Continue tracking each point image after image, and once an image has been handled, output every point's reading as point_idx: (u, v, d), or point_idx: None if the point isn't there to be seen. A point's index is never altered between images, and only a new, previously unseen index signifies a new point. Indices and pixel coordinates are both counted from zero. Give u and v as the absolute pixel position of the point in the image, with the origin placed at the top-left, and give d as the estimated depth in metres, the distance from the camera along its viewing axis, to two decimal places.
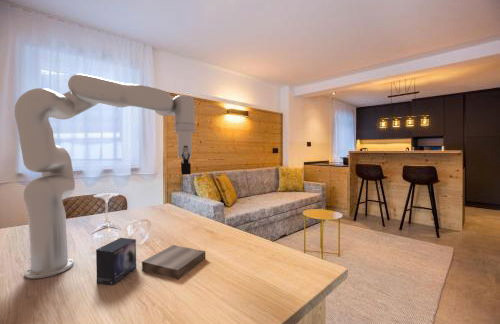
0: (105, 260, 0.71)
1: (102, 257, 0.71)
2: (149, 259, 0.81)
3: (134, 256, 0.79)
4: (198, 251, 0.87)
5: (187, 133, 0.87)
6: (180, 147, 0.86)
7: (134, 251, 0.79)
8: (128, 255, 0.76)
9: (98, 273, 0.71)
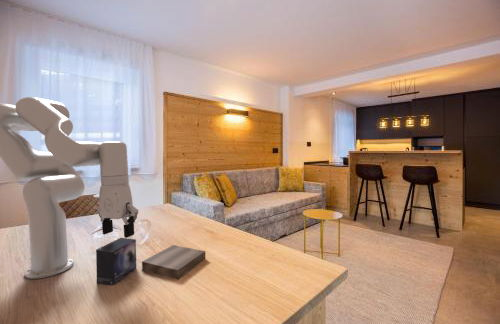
0: (105, 260, 0.71)
1: (102, 257, 0.71)
2: (149, 259, 0.81)
3: (134, 256, 0.79)
4: (198, 251, 0.87)
5: (127, 187, 0.74)
6: (122, 205, 0.71)
7: (134, 251, 0.79)
8: (128, 255, 0.76)
9: (98, 273, 0.71)
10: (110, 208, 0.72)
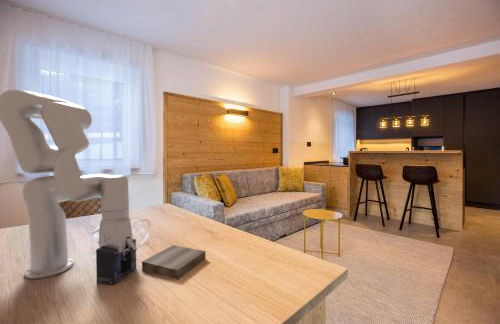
0: (104, 260, 0.71)
1: (102, 257, 0.71)
2: (149, 259, 0.81)
3: (134, 256, 0.79)
4: (198, 251, 0.87)
5: (127, 221, 0.74)
6: (122, 240, 0.72)
7: None
8: None
9: (98, 273, 0.71)
10: (110, 242, 0.73)
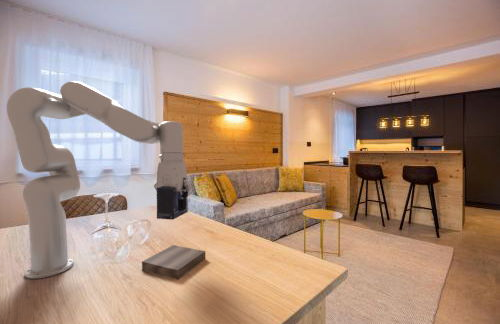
0: (165, 197, 0.77)
1: (163, 194, 0.77)
2: (149, 259, 0.81)
3: (186, 199, 0.85)
4: (198, 251, 0.87)
5: (183, 163, 0.80)
6: (180, 180, 0.78)
7: None
8: None
9: (158, 209, 0.78)
10: (168, 182, 0.79)
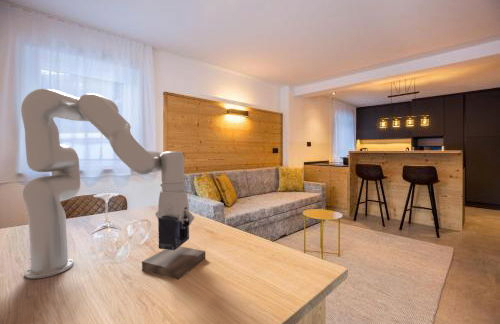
0: (167, 227, 0.78)
1: (164, 224, 0.78)
2: (149, 259, 0.81)
3: (188, 227, 0.86)
4: (198, 251, 0.87)
5: (185, 193, 0.81)
6: (182, 210, 0.79)
7: None
8: None
9: (160, 239, 0.78)
10: (170, 212, 0.80)
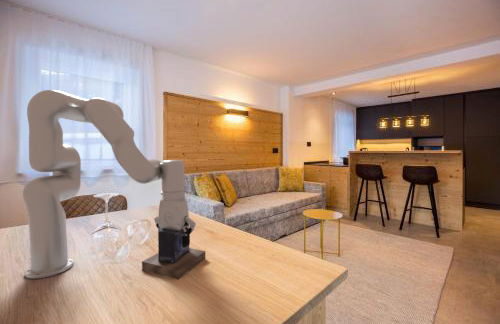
0: (166, 241, 0.78)
1: (164, 237, 0.78)
2: (149, 259, 0.81)
3: None
4: (198, 251, 0.87)
5: (185, 201, 0.81)
6: (182, 219, 0.79)
7: None
8: None
9: (160, 252, 0.78)
10: (170, 220, 0.80)
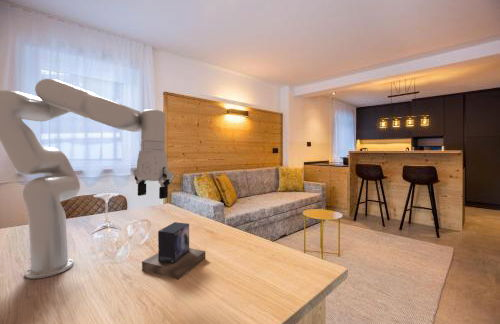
0: (166, 241, 0.78)
1: (164, 237, 0.78)
2: (149, 259, 0.81)
3: (188, 239, 0.86)
4: (198, 251, 0.87)
5: (164, 153, 0.80)
6: (160, 169, 0.78)
7: (188, 234, 0.86)
8: (184, 237, 0.83)
9: (160, 252, 0.78)
10: (148, 170, 0.78)
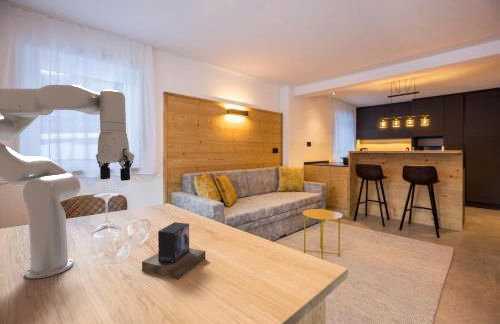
0: (166, 241, 0.78)
1: (164, 237, 0.78)
2: (149, 259, 0.81)
3: (188, 239, 0.86)
4: (198, 251, 0.87)
5: (124, 134, 0.78)
6: (119, 150, 0.76)
7: (188, 234, 0.86)
8: (184, 237, 0.83)
9: (160, 252, 0.78)
10: (108, 152, 0.77)
